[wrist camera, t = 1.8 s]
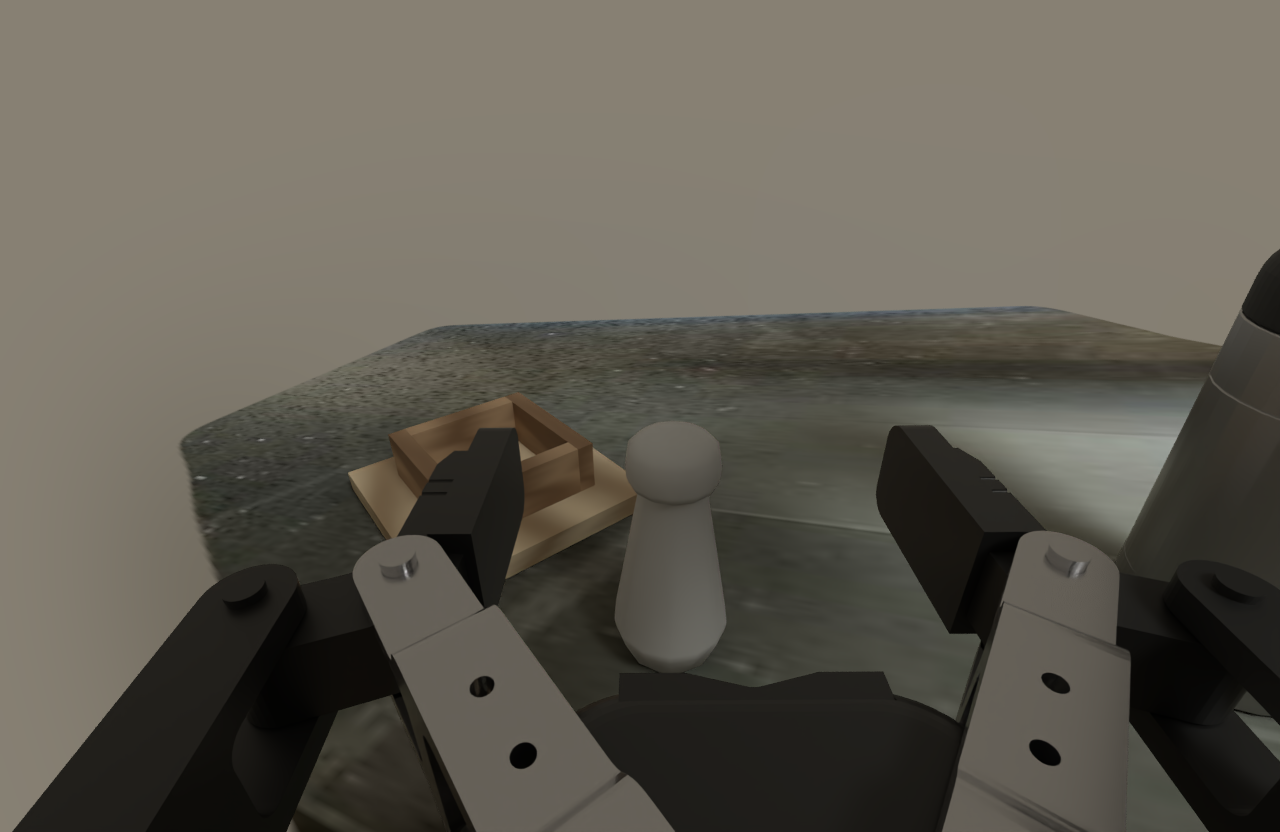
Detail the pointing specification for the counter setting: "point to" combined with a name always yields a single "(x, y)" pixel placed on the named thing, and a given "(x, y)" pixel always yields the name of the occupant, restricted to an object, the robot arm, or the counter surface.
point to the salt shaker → (671, 549)
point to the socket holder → (551, 465)
